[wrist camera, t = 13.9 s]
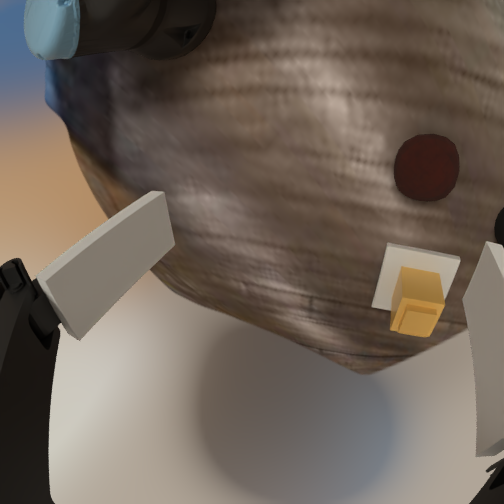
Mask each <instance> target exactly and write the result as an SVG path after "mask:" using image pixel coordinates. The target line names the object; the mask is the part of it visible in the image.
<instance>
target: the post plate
mask: <svg viewBox="0 0 504 504" xmlns="http://www.w3.org/2000/svg"><path fill="white" fill-rule="evenodd" d="M460 261H461V260H460V257H459V256H455V255H450V254H445V253H440V252H435V251H430V250H425V249H420V248H415V247H409V246H404V245H399V244H393V243H388V242H387V246H386V250H385V254H384V259H383V263H382V267H381V271H380V275H379V279H378V283H377V287H376V290H375V294H374V298H373V301H372V307H374V308H380V309H385V310H390V311H391V301H392V295H393V292H394V289H395V286H396V283H397V279H398V276H399V273H400V269H401V266H403V267H409V268H414V269H419V270H425V271H430V272H435V273H439V274H440V279H441V284H442V289H443V295H444V300H445V298H446V295H447V293H448V291H449V288H450V286H451V284H452V281H453V279H454V276H455V274H456V271H457V269H458V266H459V263H460Z"/></svg>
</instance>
